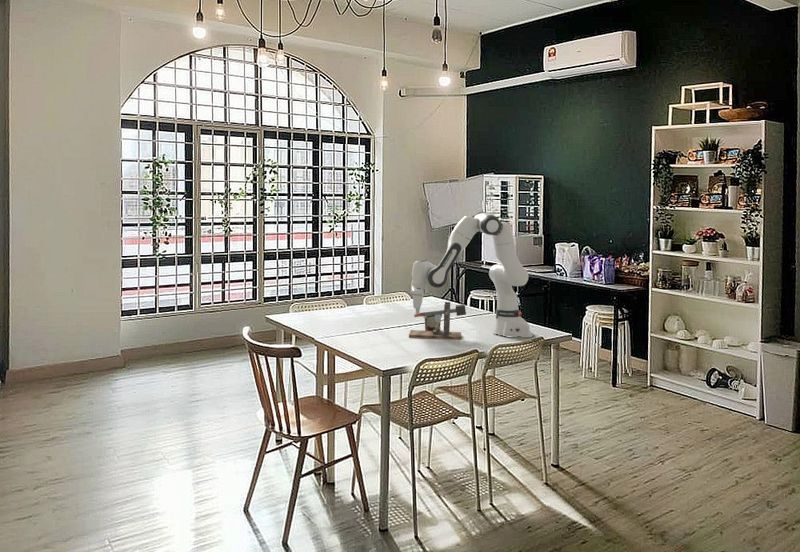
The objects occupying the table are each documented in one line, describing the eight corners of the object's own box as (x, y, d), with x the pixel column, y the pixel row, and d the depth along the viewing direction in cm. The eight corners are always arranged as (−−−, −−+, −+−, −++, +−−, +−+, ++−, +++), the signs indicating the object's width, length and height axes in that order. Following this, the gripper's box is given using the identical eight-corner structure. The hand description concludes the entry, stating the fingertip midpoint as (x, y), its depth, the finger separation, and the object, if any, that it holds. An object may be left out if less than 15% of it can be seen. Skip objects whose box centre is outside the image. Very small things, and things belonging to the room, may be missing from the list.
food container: (434, 328, 402) (434, 311, 400) (441, 330, 397) (442, 312, 396) (418, 330, 394) (418, 313, 392) (425, 332, 389) (426, 315, 388)
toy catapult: (461, 334, 386) (462, 302, 383) (460, 339, 374) (462, 306, 371) (410, 332, 388) (411, 300, 386) (409, 337, 377) (409, 303, 374)
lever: (466, 317, 381) (464, 304, 380) (466, 319, 376) (464, 305, 375) (416, 323, 384) (414, 310, 383) (415, 325, 379) (413, 311, 378)
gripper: (414, 286, 389) (413, 310, 391) (411, 291, 369) (410, 317, 371) (425, 286, 389) (424, 311, 390) (423, 292, 368) (421, 317, 370)
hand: (417, 314), depth 380 cm, fingers closed, pressing on lever
